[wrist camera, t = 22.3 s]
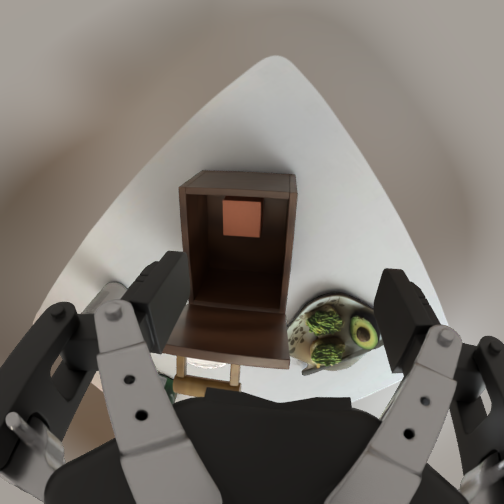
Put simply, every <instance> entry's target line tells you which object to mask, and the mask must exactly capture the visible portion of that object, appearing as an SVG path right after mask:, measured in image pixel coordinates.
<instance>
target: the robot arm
mask: <svg viewBox="0 0 504 504" xmlns="http://www.w3.org/2000/svg"><path fill="white" fill-rule="evenodd" d="M189 295H190V277H189V267H188V257H187V254H186V252H178V251H167V252H166V253H165V255H164V256H163V257H162V258H161V260H160V261H159V262H158V261H155V262H153V263H152V264H150V265H148V266H147V267H145V269H144V270H143V271H142V272H141V273H140V276H138V277H137V278H136V280H135V281H134V282H133V283H132V285H131V286H130V287H129V288H128V290H127V291H126V292H125V293H124V295H123V296H122V297H121V299H116V300H110V301H107V302H105V303H103V304H102V305H100V306H99V307H98V308H97V309H96V311H95V313H93V314H77V312H76V309H75V306H74V305H73V304H72V303H70V302H59V303H56V304H53V305H51V306H50V307H49V308H47V309H46V310H45V311H44V313H43V314H42V315H41V316H40V317H39V319H38V320H37V321H36V322H35V323H34V325H33V326H32V327H31V328H30V330H29V331H28V332H27V333H26V334H25V336H24V337H23V338H22V340H21V341H20V342H19V343H18V345H17V346H16V347H15V349H14V350H13V351H12V353H11V354H10V355H9V357H8V358H7V360H6V361H5V362H4V364H3V365H2V366H1V368H0V477H1V478H2V479H4V480H5V481H7V482H8V483H10V484H12V485H15V486H16V487H18V488H19V489H21V490H23V491H24V492H27V493H29V494H31V495H33V496H34V497H35V498H37V499H39V500H40V501H42V502H44V504H504V344H503V343H502V342H501V341H500V340H498V339H497V338H495V337H492V336H484V337H483V338H482V339H481V340H480V342H479V344H478V345H477V346H474V345H469V344H465V343H462V339H461V337H460V335H459V334H458V333H457V332H456V331H455V330H454V329H452V328H450V327H448V326H445V325H441V324H440V322H439V320H438V318H437V317H436V315H435V313H434V311H433V309H432V308H431V306H430V305H429V302H428V301H427V299H425V296H424V294H423V292H422V291H421V289H420V288H419V287H418V286H416V285H415V284H414V283H413V282H410V281H409V279H408V278H407V276H406V274H405V273H404V271H403V270H402V269H389V268H385V269H384V270H383V273H382V276H381V279H380V283H379V286H378V290H377V293H376V296H375V300H374V306H373V311H374V316H375V319H376V322H377V325H378V328H379V331H380V334H381V337H382V341H383V344H384V347H385V350H386V354H387V357H388V361H389V364H390V368H391V371H392V373H403V374H404V377H403V379H402V381H401V383H400V384H399V386H398V388H397V390H396V391H395V393H394V395H393V397H392V398H391V400H390V402H389V404H388V405H387V407H386V408H385V410H384V412H383V413H382V415H381V416H380V418H379V419H378V418H377V417H375V416H373V415H371V414H369V413H367V412H364V411H362V410H359V409H356V408H352V406H351V398H350V397H342V398H333V397H315V398H309V399H304V400H298V401H291V402H285V403H276V402H273V401H269V400H266V399H263V398H260V397H256V396H253V395H250V394H247V393H244V392H240V391H232V390H224V389H217V388H211V387H207V388H206V392H205V395H204V397H195V398H189V399H185V400H181V401H179V402H176V403H174V404H171V402H170V400H169V398H168V395H167V393H166V391H165V389H164V386H163V384H162V382H161V379H160V377H159V374H158V372H157V370H156V367H155V365H154V362H153V360H152V357H151V355H150V353H151V352H152V353H157V354H162V352H163V350H164V348H165V346H166V343H167V341H168V339H169V337H170V335H171V333H172V331H173V329H174V327H175V325H176V323H177V321H178V319H179V317H180V315H181V313H182V311H183V309H184V307H185V305H186V303H187V301H188V298H189ZM59 354H60V356H61V357H62V359H63V360H62V362H61V364H60V365H59V366H58V368H57V369H56V371H55V373H54V374H53V376H52V378H51V376H50V370H51V367H52V365H53V363H54V362H55V360H56V359H57V357H58V356H59ZM96 371H99V374H100V379H101V383H102V388H103V393H104V397H105V401H106V405H107V409H108V413H109V417H110V420H111V424H112V428H113V431H114V434H115V438H113V439H112V440H110V441H108V442H106V443H104V444H103V445H101V446H99V447H97V448H95V449H93V450H91V451H89V452H87V453H86V454H84V455H82V456H80V457H78V458H76V459H74V460H72V461H70V462H68V463H66V464H65V459H64V448H63V445H62V440H63V438H64V436H65V434H66V431H67V429H68V427H69V425H70V423H71V421H72V419H73V416H74V414H75V412H76V410H77V408H78V406H79V404H80V402H81V400H82V398H83V396H84V394H85V392H86V390H87V388H88V386H89V384H90V382H91V381H92V379H93V377H94V375H95V373H96ZM485 388H486V389H487V391H488V394H489V396H490V399H491V402H492V407H491V411H490V413H489V415H488V416H487V414H486V411H485V408H484V405H483V402H482V399H481V396H480V395H481V393H482V392H483V391H484V390H485ZM449 409H450V413H451V417H452V420H453V424H454V429H455V433H456V438H457V442H458V447H459V452H460V457H461V463H462V469H463V475H464V477H463V479H462V481H461V484H460V489H458V490H457V489H456V488H455V487H454V486H452V485H451V484H450V483H449V482H448V481H447V480H445V478H443V477H442V476H441V475H440V474H439V473H438V472H437V471H435V470H434V469H433V468H432V467H431V466H430V465H429V464H428V463H427V460H428V458H429V456H430V454H431V452H432V450H433V448H434V445H435V443H436V441H437V438H438V436H439V433H440V431H441V429H442V426H443V424H444V421H445V418H446V416H447V413H448V410H449Z"/></svg>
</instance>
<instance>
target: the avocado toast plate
mask: <svg viewBox="0 0 504 504" xmlns="http://www.w3.org/2000/svg"><path fill="white" fill-rule="evenodd" d="M287 334H288V344H289V354H290V356H291V357H293V358H295V359H298V360H301V361H303V362H306V363H307V364H308V366H307V367H306V368H305V369H304V370H302V375H304V376H306V375H310V374H313V373H315V372H318V371H321V370H328V371H337V370H343V369H346V368H349V367H351V366H352V365H353V364H355V363H356V362H357V361H358V360H359V359H361V358H362V357H363V356H364V355H365V354H366V353H367V352H368V351H371V350H372V349H376V348H379V347H381V346H382V345H384V344H383V341H382V337H381V334H380V331H379V328H378V325H377V322H376V319H375V316H374V311H373V308H372V307H370V306H369V305H367V304H365V303H363V302H362V301H360V300H359V299H357V298H355V297H353V296H350V295H347V294H344V293H331V294H326V295H322V296H320V297H317V298H315V299H314V300H312V301H311V302H309V303H308V304H307V305H305V306H304V307H303V308H302V310H301V312H300V314H299V315H298V316H297V318H296V319H295V320H294V321H293V322H292V323H291V324H290V326H289V328H288V329H287Z"/></svg>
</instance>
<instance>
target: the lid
mask: <svg viewBox="0 0 504 504" xmlns="http://www.w3.org/2000/svg"><path fill="white" fill-rule="evenodd" d="M162 353H166V354H171V355H176V356H177V374H176V375H175V377H174V380H173V391H174V392H175V393H179V394H184V395H189V396H194V397H204V395H205V392H206V388H207V387H211V388H217V389H224V390H232V391H240V392H241V383H239V378H240V365H245V366H254V367H264V368H276V369H289V365H290V354H289V344H288V334H287V324H286V315H285V314H283V313H271V312H260V311H249V310H239V309H229V308H220V307H211V306H203V305H195V304H187V305H185V307H184V309H183V311H182V313H181V315H180V317H179V319H178V321H177V323H176V325H175V327H174V329H173V331H172V333H171V335H170V337H169V339H168V341H167V343H166V346H165V348H164V350H163V352H162ZM187 357H188V358H194V359H200V360H206V361H213V362H220V363H228V364H231V371H230V381H223V380H216V379H209V378H203V377H197V376H191V375H186V368H187Z"/></svg>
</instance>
